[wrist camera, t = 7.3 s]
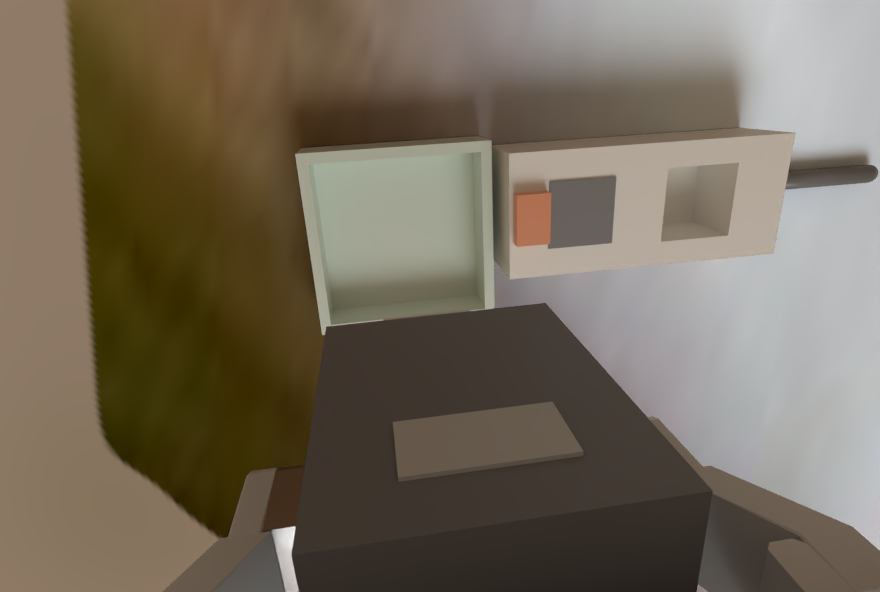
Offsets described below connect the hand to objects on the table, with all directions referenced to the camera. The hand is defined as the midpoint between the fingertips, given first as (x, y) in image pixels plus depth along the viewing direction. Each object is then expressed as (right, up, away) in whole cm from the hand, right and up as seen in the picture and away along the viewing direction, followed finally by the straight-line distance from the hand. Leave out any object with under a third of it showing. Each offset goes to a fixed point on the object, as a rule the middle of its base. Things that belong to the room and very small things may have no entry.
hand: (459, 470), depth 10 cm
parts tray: (-3, +7, +18) cm, 19 cm away
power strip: (+13, +10, +19) cm, 25 cm away
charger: (-1, +2, +5) cm, 5 cm away
